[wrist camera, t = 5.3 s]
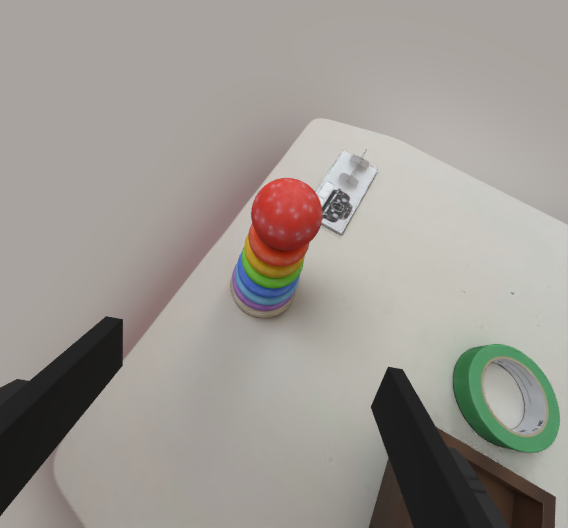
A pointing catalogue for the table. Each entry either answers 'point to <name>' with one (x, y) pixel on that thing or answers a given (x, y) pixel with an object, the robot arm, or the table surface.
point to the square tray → (497, 481)
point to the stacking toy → (275, 247)
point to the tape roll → (535, 388)
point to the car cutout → (344, 190)
